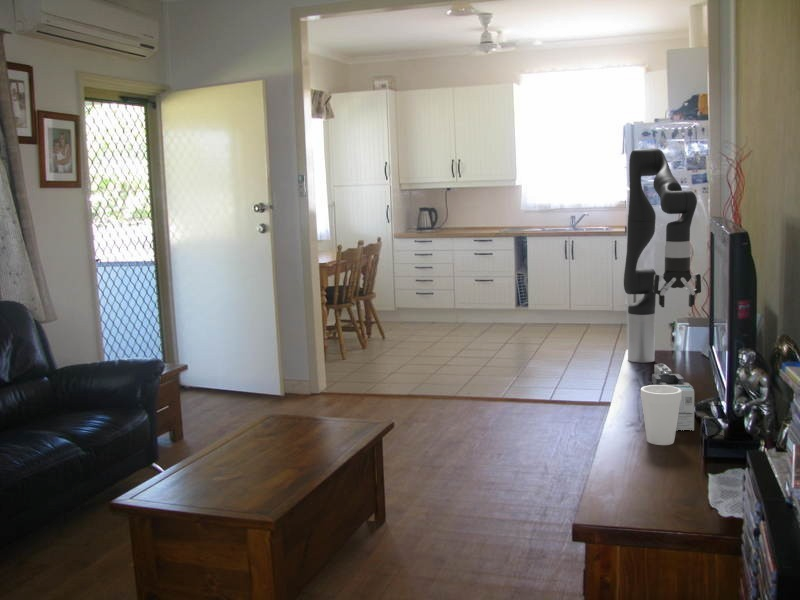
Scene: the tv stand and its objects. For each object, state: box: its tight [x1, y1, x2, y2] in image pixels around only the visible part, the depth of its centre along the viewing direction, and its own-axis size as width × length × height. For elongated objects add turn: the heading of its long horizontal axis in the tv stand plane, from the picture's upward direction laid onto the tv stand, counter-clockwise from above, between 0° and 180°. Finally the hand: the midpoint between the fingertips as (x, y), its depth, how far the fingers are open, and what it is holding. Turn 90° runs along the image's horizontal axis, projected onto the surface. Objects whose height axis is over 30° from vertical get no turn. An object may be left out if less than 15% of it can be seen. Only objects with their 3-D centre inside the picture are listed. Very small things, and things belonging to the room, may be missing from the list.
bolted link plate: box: [653, 362, 673, 374], centre depth 267 cm, size 10×3×4 cm, turn 174°
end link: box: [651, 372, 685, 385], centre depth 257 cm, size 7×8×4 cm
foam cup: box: [640, 384, 682, 446], centre depth 201 cm, size 10×9×13 cm
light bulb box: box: [647, 384, 695, 432], centre depth 212 cm, size 11×7×11 cm, turn 84°
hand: (676, 306), depth 259 cm, fingers open, 8 cm apart
